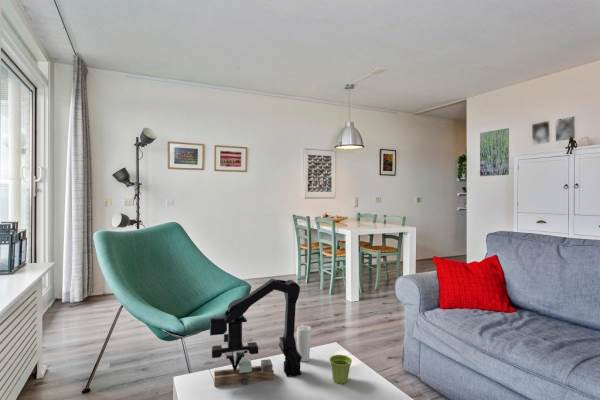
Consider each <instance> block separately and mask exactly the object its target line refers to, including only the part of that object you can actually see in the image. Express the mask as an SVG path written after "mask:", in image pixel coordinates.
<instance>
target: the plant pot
mask: <svg viewBox="0 0 600 400" xmlns="http://www.w3.org/2000/svg"><path fill="white" fill-rule="evenodd" d="M329 362H330V365H331V366H330V367H331V373H332V375H331V376H332V380H333V382H334V383H336V384H339V383H340V384H341V385H342V384H346V383H348V382H349V375H350V374H349V373H350V369H351V368H350V367H351V366H352V365H351V364H352V363H353V359H352V358H351V357H350V356H348V355H345V354H334V355H331V356H330V358H329ZM340 384H339V385H340Z"/></svg>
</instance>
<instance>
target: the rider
mask: <svg viewBox="0 0 600 400" xmlns="http://www.w3.org/2000/svg"><path fill="white" fill-rule="evenodd" d="M252 367H253V365H252V362H251V359H244V360H240V362H239V364H238V367H237V368H239V373H249V372H251V371H252Z"/></svg>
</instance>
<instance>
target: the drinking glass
mask: <svg viewBox="0 0 600 400" xmlns="http://www.w3.org/2000/svg"><path fill="white" fill-rule="evenodd" d="M311 341H312V327H311V326H310V325H305V324H304V325H299V326H297V327H296V348H297V351H298V352H299V354H300V355H301V357H302V359H301V361H300V362H304V363H305V361H306V362H308V361H310V354H311V353H310V352H311Z"/></svg>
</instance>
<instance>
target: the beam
mask: <svg viewBox="0 0 600 400" xmlns="http://www.w3.org/2000/svg"><path fill="white" fill-rule="evenodd" d="M273 367H274V366H273V363H272V360H271V359H270V358H269V359H261V360H260V365H256V366H252V371H251V372H249V373H239V368H238V367H237V369H236V371H234V369H233V368H227V369H219V370H218V369H216V370H214V376H213V378H214V387H222V386H231V385H238V384H241V386H246V385H249V383H256V382H263V381H274V380H275V372H274V369H273Z"/></svg>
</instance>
